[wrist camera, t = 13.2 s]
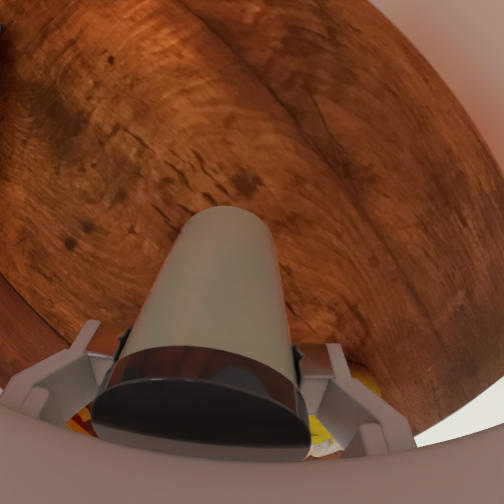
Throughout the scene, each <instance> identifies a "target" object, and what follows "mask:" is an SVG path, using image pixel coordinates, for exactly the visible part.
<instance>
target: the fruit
mask: <svg viewBox="0 0 504 504" xmlns="http://www.w3.org/2000/svg"><path fill="white" fill-rule="evenodd" d="M346 362H347V365H348V368H349V371H350V374H351V377H352V378H356V379H358V380H359V381H360V382H361V383H363V384H364V385H365V386H366V387H368V388H369V389H370V390H371V391H373V392H374V393H375V394H376V395H378V396H379V397H380V398H381V395H382V394H381V389H380V387H379V385H378V383H377V381H376V379H375V378H374V376H373V375H372V374H371V372H370V371H369V370H368V369H367V368H366V367H365V366H364V367H363V366H362V365H361V364H360V363H359V364H358V363H355V362H350V361H347V360H346ZM308 416H309V423H310V429H311V436H312V444H311V449H310V451H309V453H308V455H307V457H308V456H309V455H313V456H315V457H321V456H325V455H327V454H331V453H334V452H336V451H338V450H344V449H343V448H342V447H341V446H340V445H339V444H338V442H337V441H336V440H335V439H334V438H333V437H332V435H331V434H330V433H329V432H328V431H327V430H326V428H325V427H324V426H323V425H322V424H321V422H320V421H319V420H318V419H317V418H316V415H308Z"/></svg>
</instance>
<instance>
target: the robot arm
mask: <svg viewBox="0 0 504 504" xmlns="http://www.w3.org/2000/svg"><path fill="white" fill-rule="evenodd" d="M131 329H132V328H131V327H130V326H125V325H119V324H114V323H109V322H102V321H97V320H92V319H90V320H88V321H87V322H86V323H85V325H84V326H83V328H82V330H81V331H80V333H79V334H78V336H77V337H76V339H75V341H74V342H73V344H72V345H71V347H70V349H64V350H62V351H60V352H58V353H56V354H54V355H52V356H50V357H48V358H46V359H44V360H43V361H41V362H39V363H37V364H35V365H33V366H31V367H29V368H27V369H25V370H23V371H21V372H20V373H18V374H16V375H14V376H12V378H11V379H10V381H9V383H8V384H7V386H6V387H5V389H4V390H3V392H2V394H1V395H0V504H504V423H502V424H500V425H497V426H494V427H491V428H488V429H485V430H482V431H479V432H476V433H473V434H469V435H466V436H462V437H459V438H456V439H452V440H448V441H444V442H440V443H436V444H432V445H427V446H423V447H419V448H417V445H416V443H415V440H414V437H413V435H412V432H411V429H410V427H409V424H408V421H407V419H406V418H405V417H404V416H403V415H401V414H400V413H399V412H398V411H396V410H395V409H394V408H393V407H391V406H390V405H389V404H388V403H386V402H385V401H384V400H383V399H381V398H380V397H379V396H378V395H376V394H375V393H374V392H373V391H371V390H370V389H369V388H368V387H366V386H365V385H364V384H363V383H361V382H360V381H359V380H358V379H356V378H352V377H351V374H350V371H349V368H348V365H347V362H346V359H345V356H344V353H343V350H342V347H341V345H340V344H339V343H324V344H320V343H294V344H293V346H292V349H293V356H294V362H295V369H296V376H297V383H298V389H299V391H300V393H301V394H302V396H303V397H304V399H305V402H306V405H307V410H308V415H316V418H317V419H318V420H319V421H320V422H321V424H322V425H323V426H324V427H325V428H326V430H327V431H328V432H329V433H330V434H331V435H332V437H333V438H334V439H335V440H336V441H337V442H338V444H339V445H340V446H341V447H342V448H343V449H344V452H343V454H342V455H341V457H340V458H339V459H332V460H316V461H241V460H225V459H214V458H203V457H195V456H187V455H179V454H173V453H166V452H160V451H155V450H149V449H144V448H139V447H134V446H129V445H125V444H121V443H116V442H112V441H108V440H104V439H100V438H97V437H93V436H89V435H86V434H83V433H79V432H76V431H73V430H69V428H68V427H67V425H66V423H65V422H66V421H68V420H69V419H70V418H71V417H73V416H74V415H75V414H76V413H78V412H79V411H80V410H81V409H82V408H84V407H85V406H86V405H87V404H89V403H90V402H91V401H92V400H94V398H95V396H96V393H97V391H98V389H99V386H100V384H101V382H102V380H103V378H104V376H105V374H106V372H107V371H108V370H109V368H110V367H111V366H112V365H113V364H115V363H116V362H117V360H118V358H119V355H120V353H121V351H122V349H123V346H124V344H125V342H126V340H127V338H128V335H129V333H130V331H131Z"/></svg>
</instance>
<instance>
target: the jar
mask: <svg viewBox="0 0 504 504" xmlns="http://www.w3.org/2000/svg"><path fill="white" fill-rule="evenodd" d="M90 415H91V422H92V425H93V428H94V430H95V432H96V434H97V435H98V437H99V438H100V439H104V440H108V441H112V442H116V443H121V444H125V445H129V446H134V447H139V448H144V449H149V450H155V451H160V452H166V453H173V454H179V455H187V456H195V457H203V458H214V459H225V460H241V461H304V459H305V458H306V457H307V455H308V453H309V451H310V449H311V444H312V436H311V429H310V423H309V416H308V410H307V405H306V402H305V399H304V397H303V396H302V394H301V393H300V391H299V389H298V383H297V376H296V369H295V362H294V356H293V349H292V343H291V336H290V330H289V323H288V317H287V311H286V304H285V298H284V292H283V286H282V280H281V274H280V268H279V262H278V256H277V250H276V245H275V241H274V238H273V235H272V233H271V231H270V230H269V228H268V227H267V225H266V224H265V223H264V222H263V221H262V220H261V219H260V218H258V217H257V216H256V215H254V214H253V213H251V212H249V211H247V210H244V209H241V208H238V207H233V206H216V207H211V208H208V209H205V210H203V211H201V212H199V213H197V214H196V215H194V216H193V217H191V218H190V219H189V220H188V221H187V222H186V224H185V225H184V226H183V228H182V229H181V231H180V233H179V235H178V237H177V239H176V240H175V242H174V244H173V246H172V248H171V250H170V252H169V254H168V256H167V258H166V260H165V261H164V263H163V265H162V267H161V269H160V271H159V273H158V275H157V277H156V279H155V281H154V283H153V285H152V287H151V289H150V291H149V293H148V295H147V297H146V299H145V301H144V304H143V306H142V308H141V310H140V312H139V314H138V316H137V318H136V320H135V322H134V325H133V327H132V329H131V331H130V333H129V335H128V338H127V340H126V342H125V344H124V346H123V349H122V351H121V353H120V355H119V358H118V360H117V362H116V363H115V364H113V365H112V366H111V367H110V368H109V370H108V371H107V372H106V374H105V376H104V378H103V380H102V382H101V384H100V386H99V389H98V391H97V393H96V396H95V398H94V400H93V403H92V405H91V411H90Z"/></svg>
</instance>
